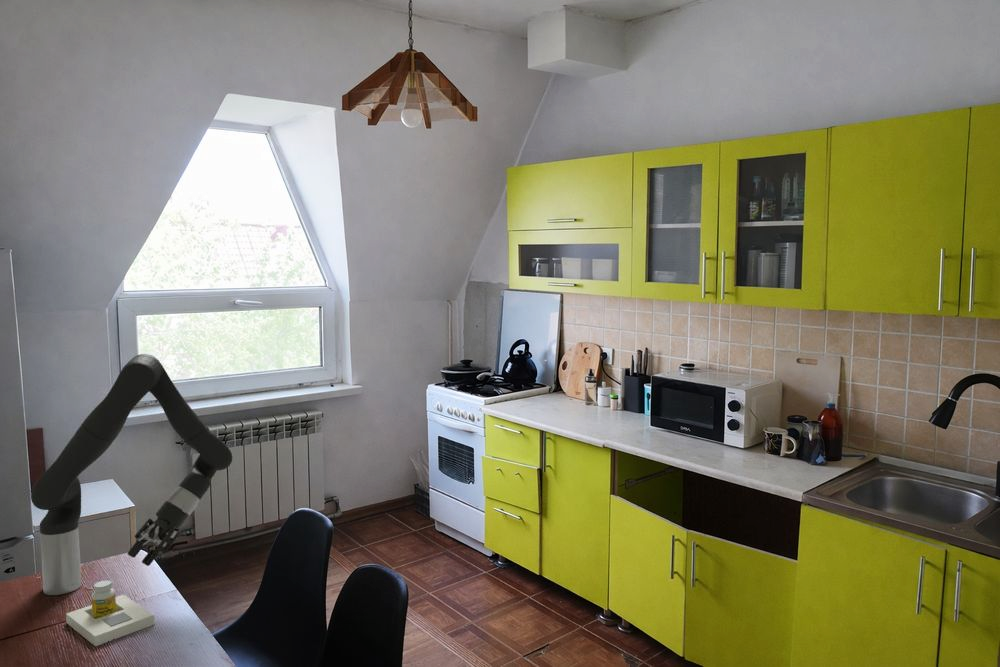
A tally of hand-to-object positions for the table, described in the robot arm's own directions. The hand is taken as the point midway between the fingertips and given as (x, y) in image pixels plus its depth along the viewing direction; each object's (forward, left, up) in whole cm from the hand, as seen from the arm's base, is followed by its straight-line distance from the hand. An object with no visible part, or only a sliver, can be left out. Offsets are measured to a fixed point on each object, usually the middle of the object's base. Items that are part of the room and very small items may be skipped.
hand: (137, 560), depth 190 cm
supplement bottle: (0, -9, -13) cm, 16 cm away
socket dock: (+3, -9, -13) cm, 16 cm away
